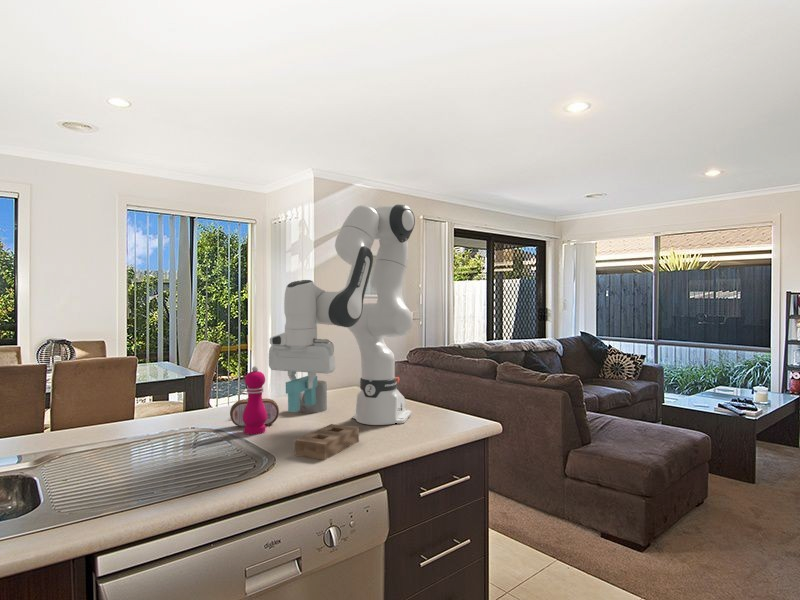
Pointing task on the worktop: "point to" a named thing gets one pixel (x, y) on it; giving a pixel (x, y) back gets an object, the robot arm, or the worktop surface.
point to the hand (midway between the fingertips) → (302, 387)
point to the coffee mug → (320, 399)
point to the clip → (295, 388)
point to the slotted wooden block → (326, 441)
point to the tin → (240, 406)
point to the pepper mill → (254, 403)
